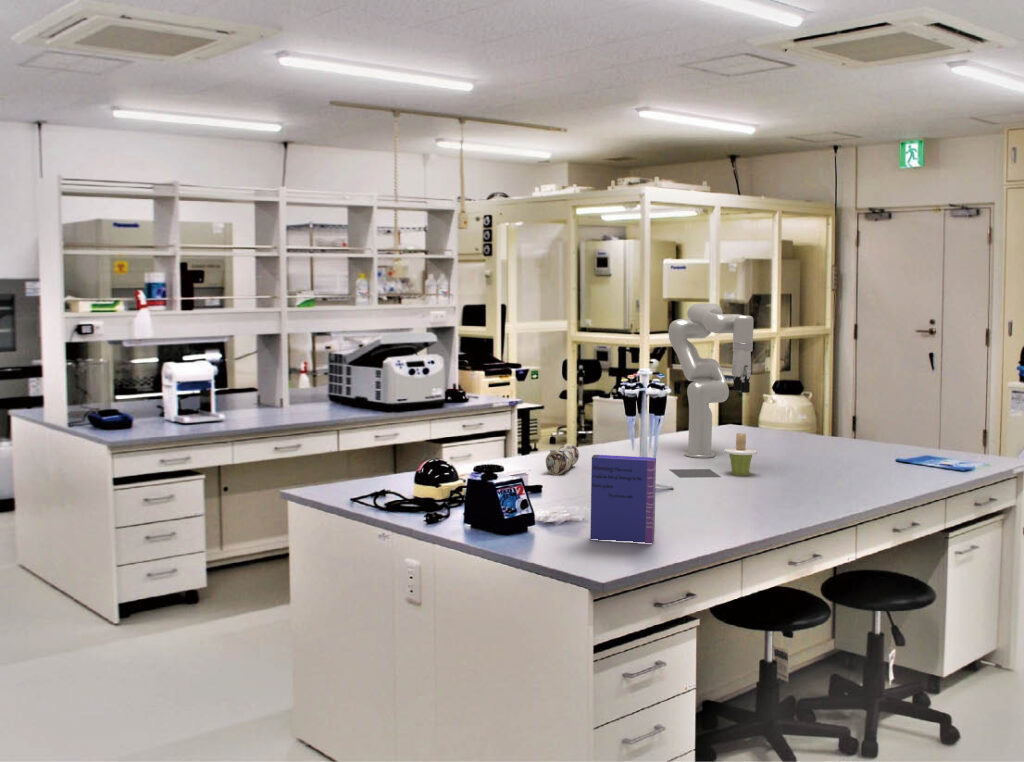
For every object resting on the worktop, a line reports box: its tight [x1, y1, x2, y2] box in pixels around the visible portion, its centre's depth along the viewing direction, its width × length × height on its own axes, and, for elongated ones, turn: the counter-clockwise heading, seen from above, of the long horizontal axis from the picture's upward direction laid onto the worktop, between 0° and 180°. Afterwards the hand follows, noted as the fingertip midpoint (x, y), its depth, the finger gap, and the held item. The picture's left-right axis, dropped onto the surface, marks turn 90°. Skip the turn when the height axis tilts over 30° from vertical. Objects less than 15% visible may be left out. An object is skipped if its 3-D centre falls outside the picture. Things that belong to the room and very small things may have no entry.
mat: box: [668, 468, 722, 479], centre depth 388 cm, size 16×16×1 cm
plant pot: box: [728, 454, 753, 477], centre depth 387 cm, size 9×9×9 cm
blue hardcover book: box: [589, 454, 657, 544], centre depth 288 cm, size 17×5×24 cm, turn 75°
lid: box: [723, 432, 758, 456], centre depth 387 cm, size 12×12×7 cm
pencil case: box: [545, 442, 580, 476], centre depth 394 cm, size 22×8×10 cm, turn 163°
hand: (741, 391), depth 399 cm, fingers open, 9 cm apart
